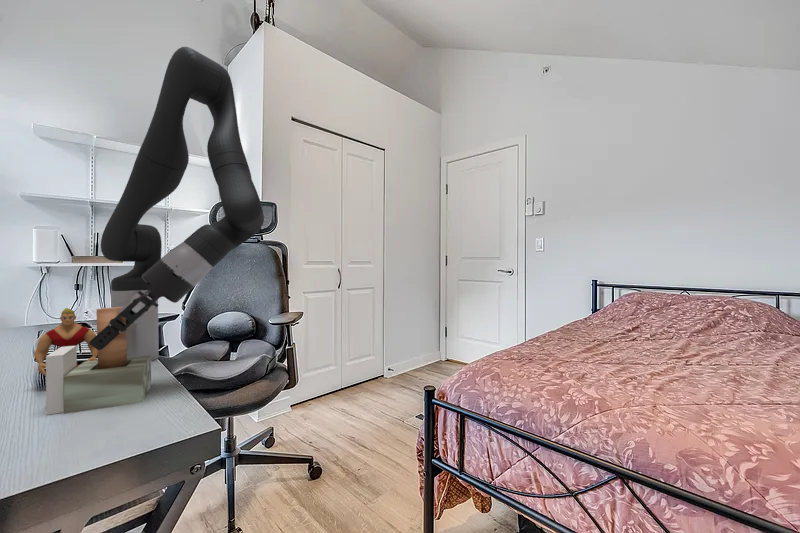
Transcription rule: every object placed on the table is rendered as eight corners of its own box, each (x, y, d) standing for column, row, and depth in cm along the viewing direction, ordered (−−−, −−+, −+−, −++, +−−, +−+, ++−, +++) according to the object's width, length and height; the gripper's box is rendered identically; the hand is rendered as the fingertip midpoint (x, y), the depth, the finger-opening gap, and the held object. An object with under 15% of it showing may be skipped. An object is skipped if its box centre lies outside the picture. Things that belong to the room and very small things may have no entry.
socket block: (84, 395, 66) (84, 361, 66) (151, 386, 70) (150, 355, 70) (64, 415, 57) (63, 376, 57) (142, 403, 61) (141, 367, 61)
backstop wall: (61, 398, 63) (61, 346, 63) (76, 396, 64) (76, 345, 64) (46, 414, 56) (45, 356, 56) (63, 412, 57) (63, 354, 57)
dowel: (99, 365, 64) (98, 308, 64) (128, 361, 66) (126, 306, 66) (95, 370, 61) (94, 310, 61) (125, 366, 63) (124, 308, 63)
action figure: (32, 393, 66) (31, 310, 66) (35, 388, 69) (34, 308, 69) (100, 382, 72) (99, 306, 72) (100, 378, 75) (99, 305, 75)
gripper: (164, 258, 73) (86, 324, 67) (159, 256, 61) (64, 337, 55) (194, 284, 76) (123, 350, 70) (196, 286, 64) (109, 367, 58)
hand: (97, 343), depth 63 cm, fingers closed on dowel, 4 cm apart
